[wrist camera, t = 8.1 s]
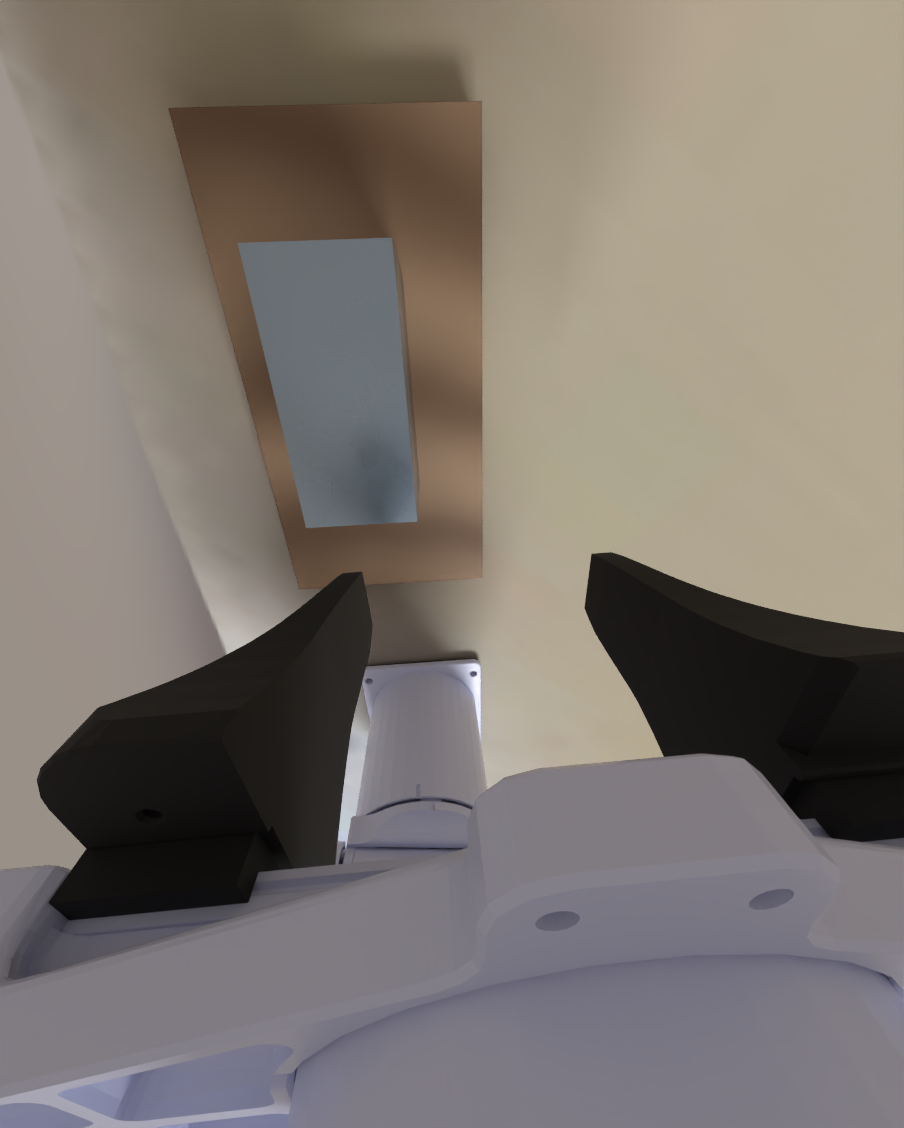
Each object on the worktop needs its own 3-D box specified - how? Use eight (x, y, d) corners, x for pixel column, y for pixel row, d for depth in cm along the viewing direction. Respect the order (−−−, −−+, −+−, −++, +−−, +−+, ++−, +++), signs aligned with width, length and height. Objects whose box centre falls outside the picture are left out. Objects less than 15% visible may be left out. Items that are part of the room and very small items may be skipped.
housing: (402, 276, 14) (391, 237, 10) (419, 483, 18) (417, 521, 14) (296, 280, 14) (237, 242, 10) (335, 487, 18) (306, 527, 14)
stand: (479, 564, 22) (482, 577, 21) (307, 575, 22) (299, 589, 20) (476, 126, 14) (481, 101, 12) (194, 133, 13) (168, 108, 12)
